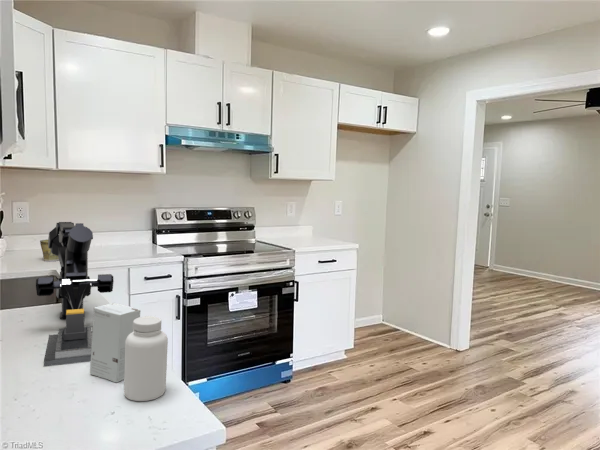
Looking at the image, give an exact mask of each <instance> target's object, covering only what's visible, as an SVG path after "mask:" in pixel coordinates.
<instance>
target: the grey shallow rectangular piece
mask: <svg viewBox="0 0 600 450" xmlns="http://www.w3.org/2000/svg"><path fill="white" fill-rule="evenodd" d="M85 327H86V338H85V339H75V340H64V329H66V327H65V328H58V331H57V332H58V333H56V334H49V335H48V338H47V339H48V340H47V343H46V348H45V354H44V358H43V367H44V368H45V367H52V366H60V365H67V364H68V365H69V364H77V363H78V364H79V363H86V362H91V346H92V331H93V328H92V326H91V325H89V326H84V328H85Z"/></svg>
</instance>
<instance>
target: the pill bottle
mask: <svg viewBox="0 0 600 450" xmlns="http://www.w3.org/2000/svg"><path fill="white" fill-rule="evenodd" d="M133 331H134V332H132V333H130V334H129V335H128V337H127V338H126V343H125V373H124V379H123V392H124V396H125V398H127V399H128V400H130V401H135V402H146V401H151V400H152V401H153V400H155V399H158V398H160V397H162V396H163V395H164V394H165V392H166V389H167V388H166V387H167V368H168V367H167V366H168V365H167V363H168V346H169V345H168V343H169V341H168V336H167V334H166V332H165V331H163V330H162V319H161V318H160V317H158V316H152V315H150V316H149V315H148V316H147V315H146V316H140V317H139V318H136V319H135V320H134V321H133Z"/></svg>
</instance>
